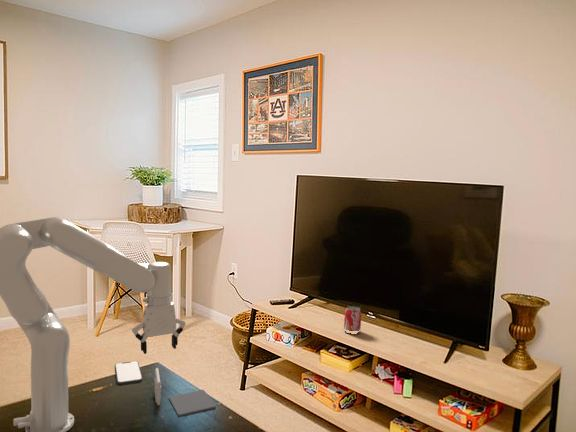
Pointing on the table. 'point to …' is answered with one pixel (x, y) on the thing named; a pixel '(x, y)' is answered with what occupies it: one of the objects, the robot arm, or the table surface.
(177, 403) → the pad
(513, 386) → the table surface
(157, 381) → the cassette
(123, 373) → the phone case
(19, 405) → the table surface
